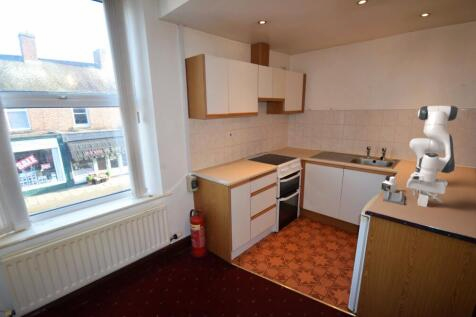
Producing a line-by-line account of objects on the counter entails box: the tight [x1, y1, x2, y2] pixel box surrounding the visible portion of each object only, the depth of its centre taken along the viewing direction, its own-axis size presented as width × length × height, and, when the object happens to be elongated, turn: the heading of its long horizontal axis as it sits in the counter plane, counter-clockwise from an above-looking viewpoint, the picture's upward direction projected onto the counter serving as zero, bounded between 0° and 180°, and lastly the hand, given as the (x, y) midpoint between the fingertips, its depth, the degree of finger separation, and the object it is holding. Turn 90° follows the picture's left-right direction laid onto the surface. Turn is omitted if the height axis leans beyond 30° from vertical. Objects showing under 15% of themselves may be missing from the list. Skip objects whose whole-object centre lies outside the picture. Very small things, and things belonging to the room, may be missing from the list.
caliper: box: [416, 190, 444, 204], centre depth 164 cm, size 20×1×6 cm, turn 5°
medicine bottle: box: [380, 175, 398, 193], centre depth 175 cm, size 7×7×12 cm
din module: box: [417, 192, 430, 208], centre depth 153 cm, size 8×4×7 cm, turn 144°
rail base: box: [382, 191, 405, 206], centre depth 162 cm, size 18×12×2 cm, turn 144°
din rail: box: [386, 189, 403, 202], centre depth 162 cm, size 18×8×2 cm, turn 144°
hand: (423, 197), depth 152 cm, fingers open, 8 cm apart
